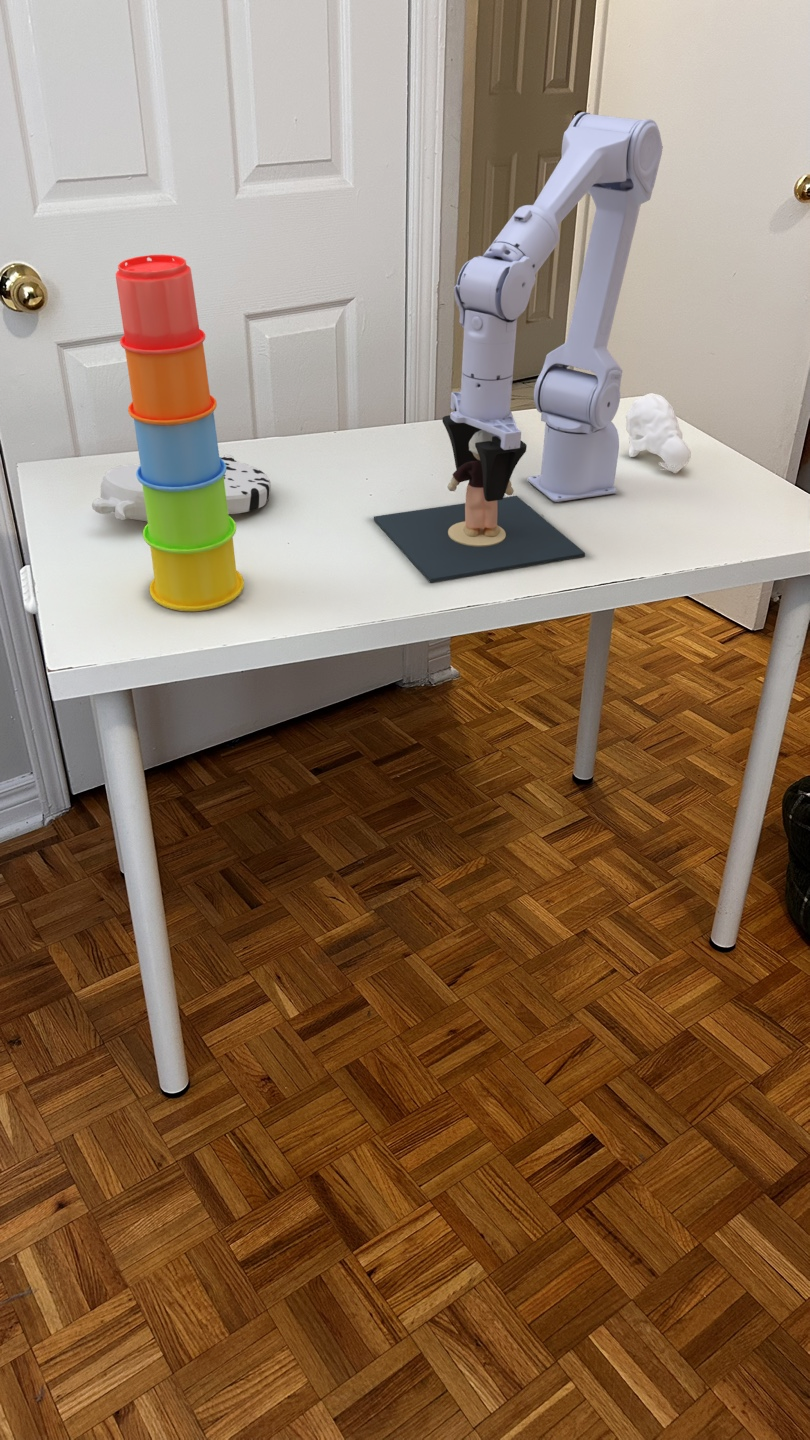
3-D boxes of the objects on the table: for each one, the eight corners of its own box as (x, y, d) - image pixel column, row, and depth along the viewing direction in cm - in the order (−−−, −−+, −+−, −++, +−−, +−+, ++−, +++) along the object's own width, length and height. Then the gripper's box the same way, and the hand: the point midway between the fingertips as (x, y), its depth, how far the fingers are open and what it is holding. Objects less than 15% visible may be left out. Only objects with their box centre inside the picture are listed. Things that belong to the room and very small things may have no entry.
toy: (95, 477, 149) (91, 534, 132) (95, 442, 146) (91, 495, 130) (260, 489, 154) (277, 544, 137) (263, 455, 152) (280, 508, 135)
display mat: (516, 499, 147) (516, 494, 147) (585, 556, 133) (585, 551, 133) (373, 520, 141) (373, 514, 140) (430, 582, 127) (430, 577, 127)
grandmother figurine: (504, 523, 139) (512, 423, 132) (511, 537, 136) (520, 435, 129) (443, 526, 138) (447, 426, 131) (449, 540, 135) (454, 437, 128)
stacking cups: (242, 612, 120) (219, 272, 101) (145, 613, 120) (103, 271, 100) (245, 568, 129) (225, 247, 109) (155, 569, 128) (118, 246, 108)
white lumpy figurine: (665, 386, 159) (712, 422, 151) (653, 442, 165) (698, 479, 156) (626, 390, 157) (672, 427, 149) (615, 447, 163) (659, 485, 154)
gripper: (428, 357, 130) (424, 469, 138) (482, 396, 119) (475, 515, 127) (484, 351, 132) (477, 462, 140) (542, 389, 121) (531, 507, 129)
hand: (479, 487), depth 133 cm, fingers open, 7 cm apart
